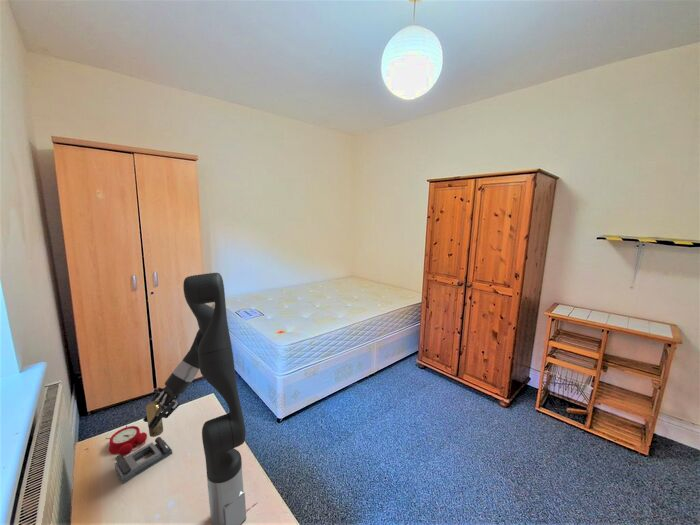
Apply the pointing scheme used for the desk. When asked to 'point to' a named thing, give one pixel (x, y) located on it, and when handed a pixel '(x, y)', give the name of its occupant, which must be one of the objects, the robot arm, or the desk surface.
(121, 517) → the desk surface
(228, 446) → the robot arm
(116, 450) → the alarm clock
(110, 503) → the desk surface
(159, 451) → the grey roller frame base
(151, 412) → the bronze pin
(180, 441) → the desk surface
